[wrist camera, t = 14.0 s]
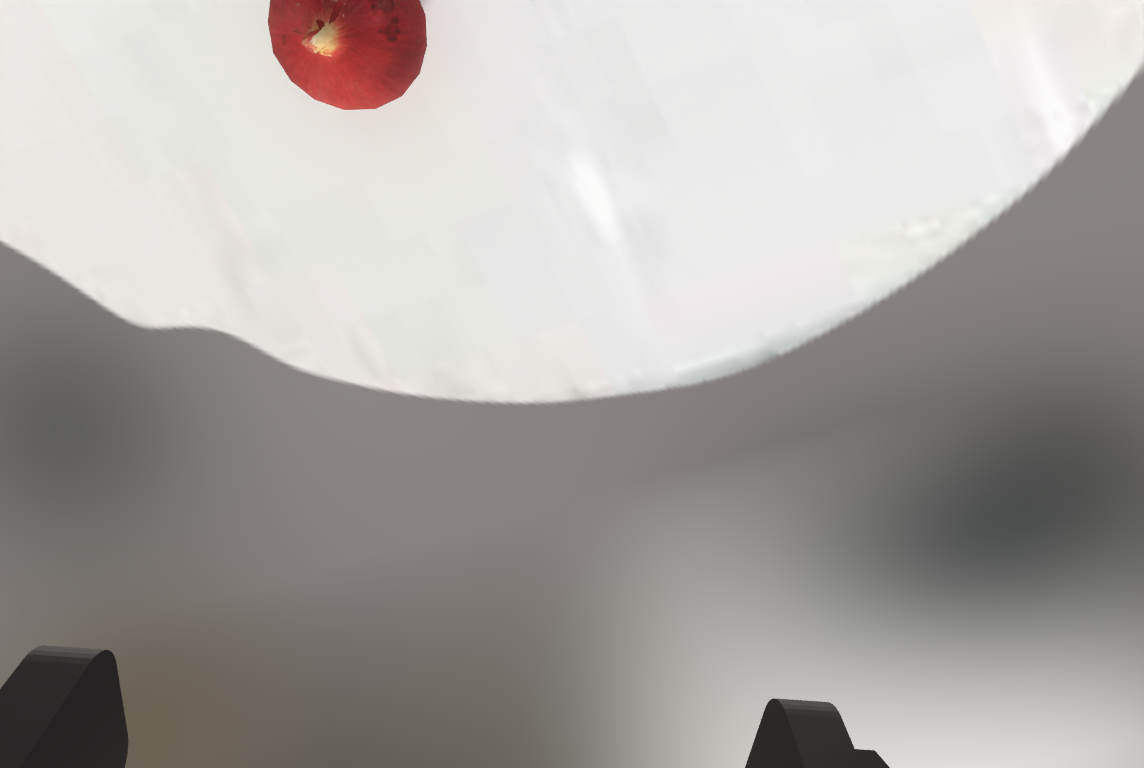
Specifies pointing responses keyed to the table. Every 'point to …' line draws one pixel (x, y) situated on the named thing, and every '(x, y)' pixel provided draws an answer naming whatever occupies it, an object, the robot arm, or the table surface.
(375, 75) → the onion
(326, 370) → the table surface
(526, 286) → the table surface
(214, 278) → the table surface
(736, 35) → the table surface
